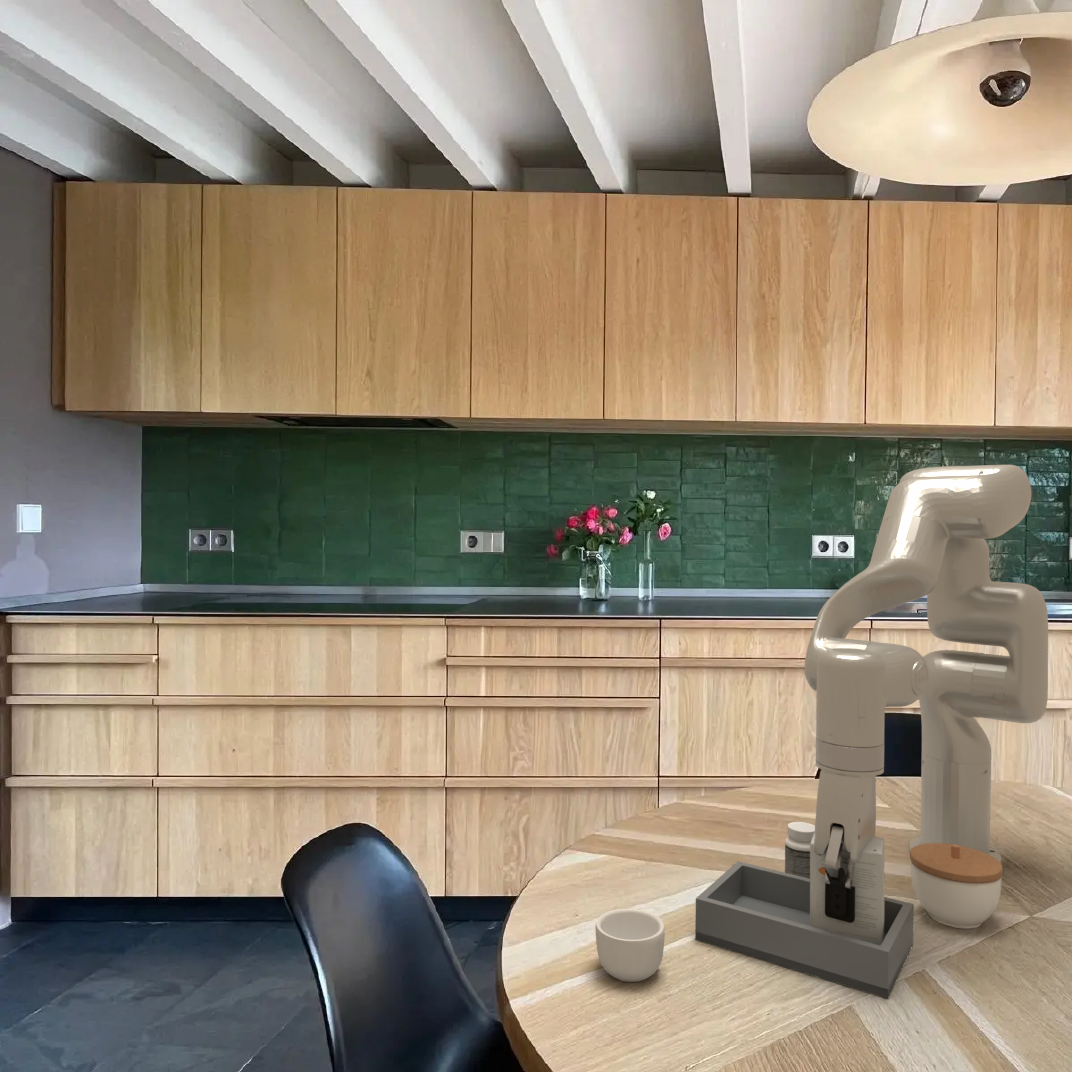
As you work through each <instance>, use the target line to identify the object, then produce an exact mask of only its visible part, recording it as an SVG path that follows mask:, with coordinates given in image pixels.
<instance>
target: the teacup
mask: <svg viewBox="0 0 1072 1072" xmlns="http://www.w3.org/2000/svg"><path fill="white" fill-rule="evenodd" d="M665 935H666V931H665V924H664V922H663V920H662V919H661V917H659V916H658V915H656V914H655V913H652V912H650V911H647V910H643V909H639V908H616V909H612V910H608V911H606V912H603V913H602V914H601V915H599V916H598V918H597V919H596V922H595V940H596V942H595V943H596V952H597V955H598V960H599V962H600V964H601V966H602V968H604V970H605V971H606V972H607V973H608V974H609V975H610V976H612V977H613V978H615V979H616V980H619V981H622V982H626V983H627V982H628V983H638V982H642V981H644V980H646V979H648V978H650V977H651V976H652V975H654V974H655V973H656V972H657V970H658V969H659V967H660V966H661V964H662V961H663V956H664V949H665V938H666V937H665Z"/></svg>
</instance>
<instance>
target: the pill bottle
mask: <svg viewBox="0 0 1072 1072" xmlns="http://www.w3.org/2000/svg"><path fill="white" fill-rule="evenodd" d="M814 832H815V824H812V823H809V822H804V821H793V822H789V823H788V824H787V831H786V833H787V837H786V838H785V840H784V872H785V873H789V874H793V875H797V876H801V877H805V878H809V879H810V843H811V840H812V838H813V835H814Z"/></svg>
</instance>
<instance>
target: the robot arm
mask: <svg viewBox="0 0 1072 1072" xmlns="http://www.w3.org/2000/svg"><path fill="white" fill-rule="evenodd" d="M1031 500H1032V486H1031V481H1030V480H1029V477H1028V475H1027V474H1026V472H1025V471H1024V469H1022V468H1021V467H1020V466H1017V465H1014V464H985V465H983V464H982V465H954V466H953V465H951V466H950V465H947V466H933V467H932V466H931V467H924V468H923V467H922V468H918V469H917V468H916V469H915V470H911V471H909V472H906V473H905V474H904V475H902V477H901V478H900V481H899V483H898V484H896V486H895V487H894V488H893V489H892V491H891V492H890V495H889V497H888V500H887V504H886V507H885V510H884V515H883V517H882V521H881V524H880V528H879V530H878V534H877V537H876V542H875V545H874V547H873V551H872V555H871V558H870V562H869V564H868V566H867V567H866V568H865V569H864V570H862V571H860V572H859V573H858V574H856V575H855V576H854V577H852V578H851V579H849V580H848V581H847V582H845V583H844V584H843V585H842V586H841V587H839V589H837V590H836V592H835V593H833V594H832V595H831V596H830V597H829V598H828V599H827V601H826V602H825V603H824V604H823V606H822V608H820V610H819V613H818V615H817V616H816V619H815V622H814V625H813V629H812V631H811V635H810V636H809V637H810V638H809V641H808V645H807V648H806V652H805V659H804V674H805V679H806V681H807V684H808V685H809V687H810V688H811V689H813V691H815V692H816V706H815V707H816V714H815V715H816V717H815V720H816V721H815V724H816V725H815V729H816V730H815V766H816V767H817V768H818V769H819V770H820V772H819V780H818V785H817V796H816V807H815V808H816V809H815V823H814V826H815V839H814V851H815V853H816V854H817V855H819V856H821V855H822V854H824V853H825V852H826V851H827V854H826V859H825V868H826V870H825V872H826V875H825V915H826V916H827V917H830V918H834V919H837V920H841V921H845V922H849V923H853V921H854V920H855V887H853V886H852V882H853V872H854V863H855V862H857V861H859V860H860V859H861V856H862V852H863V850H864V849H865V847H866V846H867V845H868V843H869V842H870V840H871V839H872V837H876V825H877V786H876V785H877V784H876V783H877V782H876V781H877V779H876V776H880V775H882V774H883V773H885V717H886V716H885V713H886V711H885V708H901V707H907V706H910V705H913V704H914V703H916V702H917V701H919V709H920V717H921V719H920V720H921V768H920V770H921V775H920V778H921V781H920V782H921V783H920V785H921V787H920V835H918V836H916V837H914V838H912V839H911V840H910V841H909V845H908V846H909V848H908V849H909V851H910V850H911V849H912V848H913V847H915V846H917V845H921V844H927V843H945V844H956V845H959V846H964V847H968V848H972V849H975V850H978V851H981V852H984V853H986V854H988V855H990V856H992V857H994V858H995V859H997V860H998V861H999V862H1000V863H1001V864H1002V862H1003V861H1002V859H1003V858H1002V856H1001V854H1000V853H999V852H998V851H996V850H995V849H994V848H992V847H991V795H992V793H991V792H992V791H991V789H992V787H991V786H992V785H991V783H992V746H991V743H990V740H989V737H988V735H987V733H986V732H985V730H984V729H983V728H982V726H981V725H980V723H979V722H978V720H977V719H976V718H983V719H989V720H990V719H991V720H998V721H1002V722H1003V721H1004V722H1010V723H1018V724H1033V723H1037V722H1038V721H1039V720H1041V719H1042V717H1044V715H1045V712H1046V709H1047V705H1048V699H1049V698H1048V697H1049V618H1048V617H1049V615H1048V608H1047V604H1046V601H1045V597H1044V596H1043V594H1042V593H1041V591H1040V590H1039V589H1038V588H1036V586H1032V585H1030V584H1028V583H1024V582H1022V583H1021V582H1008V581H1006V582H1005V581H992V579H991V577H990V549H989V545H988V543H987V541H986V540H989V539H995V538H998V537H1000V536H1003V535H1004V534H1005V533H1007V532H1008V531H1009V530H1011V529H1012V528H1014V527H1015V526H1017V525H1019V523H1021V522H1022V521H1023V519H1024V518H1025V517H1026V515H1027V513H1028V512H1029V509H1030V506H1031ZM923 597H926V613H927V614H926V615H927V623H928V628H929V631H930V632H931V634H932V635H933V636H935V637H936V638H938V639H940V640H942V641H948V642H952V643H953V642H954V643H961V644H971V645H981V646H991V647H992V646H993V647H1002V648H1004V649H1005V650H1006V651H1007V653H1008V655H1000V654H993V653H992V654H991V653H983V652H975V651H965V650H956V649H955V650H954V649H951V650H950V649H942V650H935V651H931V652H929V653H928V652H927V654H925V655H924V656H923V655H922V654H921V653H920V652H918V651H917V650H916V649H914V648H913V647H911V646H910V647H909V646H907V645H904V644H903V645H902V644H897V643H888V642H878V641H871V640H863V639H853V638H852V639H851V638H846V637H847V636H848V634H850V631H851V630H852V629H854V627H855V626H856V625H858V624H859V623H860V622H863V620H865V619H867V618H869V617H871V616H873V615H876V614H877V613H880V612H883V611H886V610H888V609H892V608H896V607H899V606H902V605H904V604H907V603H910V602H913V601H916V600H919V599H922V598H923ZM828 843H829V845H828ZM827 845H828V848H827V849H828V850H827V849H826V847H827ZM841 852H845V853H849V854H850V855H849V858H844V857H841ZM840 863H844V864H847V870H846V874H845V871H844V869H843V868H840V866H841V865H840Z"/></svg>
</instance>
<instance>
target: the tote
mask: <svg viewBox="0 0 1072 1072" xmlns="http://www.w3.org/2000/svg"><path fill="white" fill-rule="evenodd" d="M914 907H915V906H914V903H911V902H906V901H903V900H899V899H895V898H891V897H886V896H884V934H883V942H882V944H881V945H878V944H873V943H869V942H866V941H862V940H859V939H855V938H851V937H848V936H844V935H840V934H837V933H833V932H830V931H826V930H822V929H819V928H815V927H811V926H810V879H809V878H805V877H801V876H797V875H793V874H789V873H785V871H779V870H777V869H776V870H775V869H772V868H767V867H763V866H759V865H755V864H751V863H749V862H743V861H740V860H738V861H737V862H735V863H733V864H732V866H731V867H729V869H727V870H726V871H725V872H724V873H723V874H722V875H720V876H719V877H718V878H717V879H716V880H715V881H713V883H711V885H709V886H708V887H707V888H706V889H705V890H703V891H702V892H701V893H700V894H699V895H698V896H697V897H696V898H695V925H694V926H695V929H694V930H695V935H694V938H695V939H694V940H696V941H699V942H702V943H705V944H709V945H712V946H715V947H719V948H721V949H724V950H728V951H731V952H735V953H738V954H741V955H745V956H747V957H751V958H754V959H758V960H761V961H764V962H767V963H771V964H774V965H777V966H780V967H783V968H787V969H789V970H793V971H796V972H800V973H803V974H807V975H809V976H811V977H812V976H813V977H815V978H819V979H822V980H825V981H828V982H831V983H836V984H839V985H841V986H845V987H849V988H850V989H854V990H857V989H858V991H862V992H864V993H868V994H871V995H875V996H877V997H879V998H880V997H881V998H884V999H887V1000H889V997H890V995H891V993H892V992H893V989H894V988H895V987H894V986H895V985H896V983H897V981H896V980H898V978H899V976H900V974H901V972H902V970H903V967H904V966H903V965H905V964H904V963H906V961H907V959H908V957H909V954H910V953H909V952H911V951H912V949H911V947H912V946H914V917H915V915H914V913H915V911H914V910H915V908H914ZM912 948H913V947H912ZM910 950H911V951H910ZM907 956H908V957H907ZM895 982H896V983H895Z"/></svg>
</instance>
